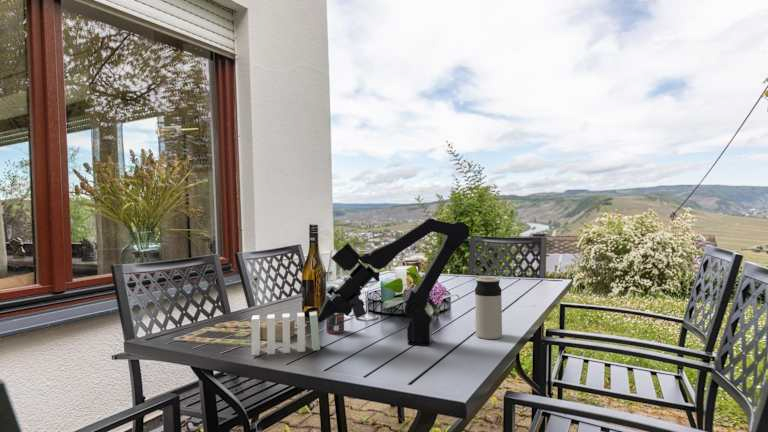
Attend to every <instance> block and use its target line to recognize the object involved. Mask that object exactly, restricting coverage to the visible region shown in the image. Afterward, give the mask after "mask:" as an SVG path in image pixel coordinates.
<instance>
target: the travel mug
mask: <svg viewBox="0 0 768 432" xmlns="http://www.w3.org/2000/svg"><path fill="white" fill-rule="evenodd" d="M475 281H476V286H475V288H474V295H475V297H474V298H475V299H474V301H475V302H474V304H475V306H474V307H475V309H474V310H475V312H474V313H475V336H476V337H478V338H479V339H484V340H498V339H500V338H502V337H503V323H502V322H503V319H502V317H503V313H502V312H503V311H502V310H503V309H502V308H503V306H502V305H503V304H502V302H503V299H502V288H501V286H500V281H501V278H499V277H493V276H481V277H479V276H478V277H476V278H475Z"/></svg>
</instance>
